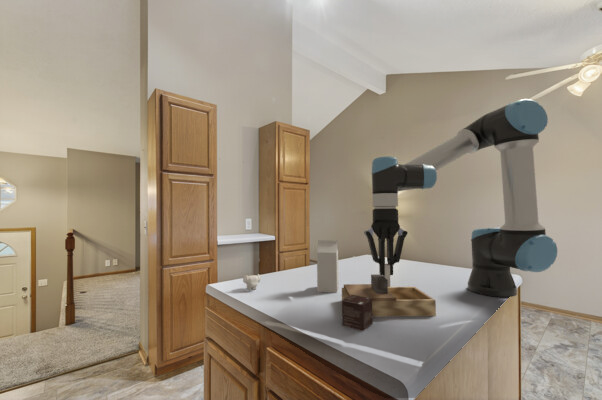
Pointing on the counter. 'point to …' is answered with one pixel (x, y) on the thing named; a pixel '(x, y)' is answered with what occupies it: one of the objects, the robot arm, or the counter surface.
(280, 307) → the counter surface
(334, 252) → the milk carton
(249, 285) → the elephant figurine
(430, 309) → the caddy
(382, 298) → the lid
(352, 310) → the box
